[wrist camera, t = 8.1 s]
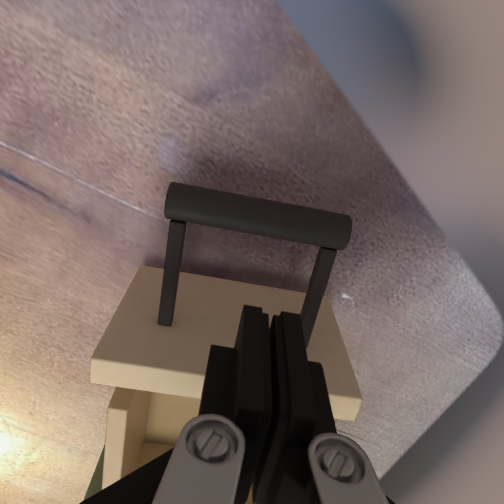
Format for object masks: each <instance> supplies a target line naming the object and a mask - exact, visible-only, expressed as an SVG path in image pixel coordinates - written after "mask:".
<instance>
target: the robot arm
mask: <svg viewBox="0 0 504 504" xmlns="http://www.w3.org/2000/svg"><path fill="white" fill-rule="evenodd" d="M251 486H252V503H253V504H395V503H394V502H393V501H392V500H390V499H389V498H388V497H387V496H386V495H385V494H384V492H383V489H382V487H381V485H380V482H379V480H378V478H377V475H376V473H375V471H374V469H373V466H372V464H371V462H370V459H369V458H368V456H367V454H366V453H365V451H364V450H363V449H362V448H361V447H360V446H359V445H358V444H357V443H356V442H354V441H353V440H351V439H350V438H348V437H346V436H343V435H341V434H337V432H336V427H335V422H334V418H333V413H332V408H331V404H330V399H329V394H328V389H327V385H326V380H325V375H324V370H323V367H322V364H321V363H320V362H314V361H308V357H307V351H306V345H305V339H304V333H303V327H302V321H301V316H300V314H296V313H290V312H285V311H281V313H280V315H273V317H272V321H271V325H270V329H269V314H268V313H263V310H262V307H256V306H251V305H245V304H244V306H243V309H242V314H241V318H240V323H239V327H238V332H237V336H236V341H235V345H234V348H231V347H225V346H219V345H213V344H211V347H210V352H209V357H208V362H207V367H206V373H205V378H204V383H203V389H202V395H201V401H200V407H199V413H198V416H197V417H194V418H192V419H191V420H190V421H188V422H187V423H186V424H185V425H184V427H183V429H182V430H181V432H180V435H179V437H178V440H177V442H176V445H175V447H174V448H172V449H170V450H169V451H167V452H165V453H164V454H162V455H160V456H159V457H157V458H155V459H153V460H152V461H150V462H148V463H147V464H145V465H143V466H142V467H140V468H138V469H137V470H135V471H133V472H131V473H130V474H128V475H126V476H125V477H123V478H121V479H120V480H118V481H116V482H115V483H113V484H111V485H109V486H108V487H106V488H104V489H103V490H101V491H99V492H98V493H96V494H94V495H93V496H91V497H89V498H87V499H86V500H84V501H82V502H81V503H80V504H245V503H246V502H247V499H248V496H249V492H250V489H251Z"/></svg>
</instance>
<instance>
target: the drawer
mask: <svg viewBox="0 0 504 504" xmlns="http://www.w3.org/2000/svg"><path fill="white" fill-rule="evenodd" d="M164 214H165V218H167V219H171V221H170V225H169V233H168V241H167V249H166V257H165V265H164V269H162V268H156V267H150V266H144V265H141V266H140V268H139V270H138V271H137V273H136V275H135V277H134V279H133V281H132V283H131V284H130V286H129V288H128V290H127V292H126V294H125V296H124V297H123V299H122V301H121V303H120V305H119V307H118V309H117V310H116V312H115V314H114V316H113V318H112V320H111V322H110V323H109V325H108V327H107V329H106V331H105V333H104V334H103V336H102V338H101V340H100V342H99V344H98V346H97V347H96V349H95V351H94V353H93V355H92V357H91V359H90V379H89V382H90V383H94V384H101V385H108V386H115V387H116V389H115V392H114V394H113V396H112V399H111V401H110V404H109V406H108V411H107V424H106V438H105V451H104V465H103V478H102V490H103V489H104V488H106V487H108V486H109V485H111V484H113V483H115V482H116V481H118V480H120V479H121V478H123V477H125V476H126V475H128V474H130V473H131V472H133V471H135V470H137V469H138V468H140V467H142V466H143V465H145V464H147V463H148V462H150V461H152V460H153V459H155V458H157V457H159V456H160V455H162V454H164V453H165V452H167V451H169V450H170V449H172V448H174V447H175V445H176V442H177V440H178V437H179V435H180V432H181V430H182V429H183V427H184V425H185V424H186V423H187V422H188V421H190V420H191V419H192V418H194V417H197V416H198V413H199V407H200V401H201V395H202V389H203V383H204V378H205V373H206V367H207V362H208V357H209V352H210V347H211V344H213V345H219V346H225V347H231V348H234V345H235V341H236V336H237V332H238V327H239V323H240V318H241V314H242V309H243V306H244V304H245V305H251V306H256V307H262V310H263V313H268V314H269V329H270V325H271V321H272V317H273V315H280V313H281V311H285V312H290V313H296V314H300V316H301V321H302V327H303V333H304V339H305V345H306V351H307V357H308V361H314V362H320V363H321V364H322V367H323V370H324V375H325V380H326V385H327V389H328V394H329V399H330V404H331V408H332V413H333V418H334V419H341V420H348V421H354V420H355V418H356V416H357V413H358V411H359V408H360V406H361V403H362V401H363V398H362V395H361V392H360V389H359V386H358V383H357V380H356V377H355V375H354V372H353V369H352V366H351V363H350V360H349V357H348V354H347V351H346V348H345V345H344V342H343V339H342V336H341V333H340V331H339V328H338V325H337V322H336V319H335V316H334V313H333V310H332V307H331V304H330V301H329V298H328V297H325V296H323V295H324V292H325V289H326V285H327V282H328V279H329V276H330V273H331V269H332V266H333V263H334V260H335V256H336V253H337V250H344V249H345V248H346V246H347V244H348V242H349V239H350V236H351V231H352V219H351V217H350V216H349V215H345V214H340V213H334V212H329V211H324V210H319V209H313V208H308V207H303V206H298V205H292V204H287V203H282V202H277V201H271V200H266V199H261V198H255V197H250V196H245V195H240V194H234V193H229V192H224V191H219V190H213V189H208V188H203V187H197V186H192V185H187V184H182V183H176V182H171V183H170V185H169V187H168V191H167V195H166V201H165V211H164ZM187 222H189V223H194V224H200V225H205V226H211V227H216V228H222V229H227V230H233V231H238V232H244V233H249V234H255V235H260V236H266V237H271V238H277V239H282V240H288V241H293V242H299V243H304V244H310V245H315V246H320V248H319V251H318V254H317V258H316V261H315V265H314V268H313V272H312V275H311V279H310V282H309V286H308V289H307V292H306V293H302V292H296V291H290V290H284V289H278V288H273V287H267V286H261V285H255V284H249V283H243V282H238V281H232V280H226V279H220V278H214V277H208V276H203V275H197V274H191V273H185V272H180V268H181V261H182V253H183V246H184V239H185V232H186V225H187ZM336 249H337V250H336ZM245 504H253V503H252V486H251V489H250V492H249V496H248V499H247V502H246V503H245Z"/></svg>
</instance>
